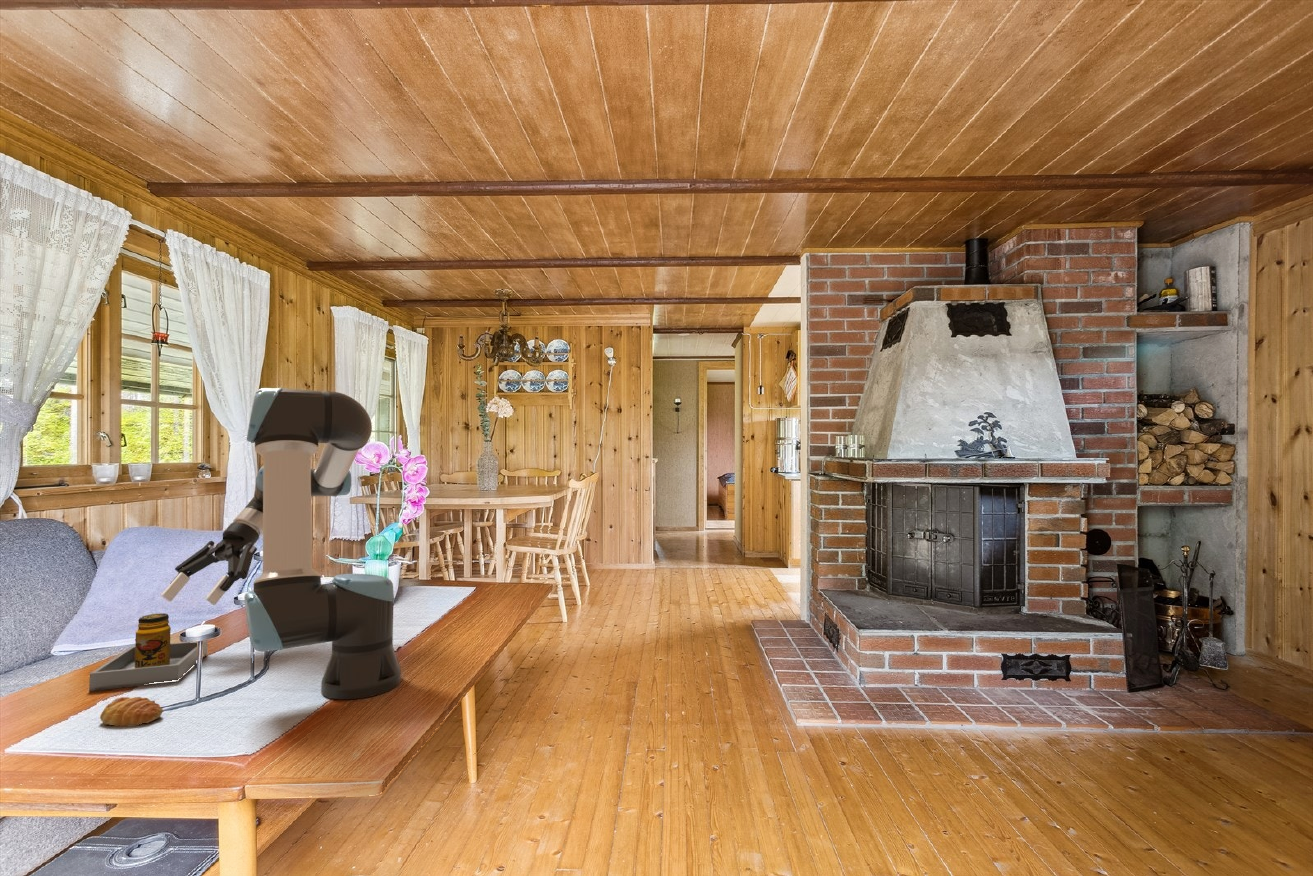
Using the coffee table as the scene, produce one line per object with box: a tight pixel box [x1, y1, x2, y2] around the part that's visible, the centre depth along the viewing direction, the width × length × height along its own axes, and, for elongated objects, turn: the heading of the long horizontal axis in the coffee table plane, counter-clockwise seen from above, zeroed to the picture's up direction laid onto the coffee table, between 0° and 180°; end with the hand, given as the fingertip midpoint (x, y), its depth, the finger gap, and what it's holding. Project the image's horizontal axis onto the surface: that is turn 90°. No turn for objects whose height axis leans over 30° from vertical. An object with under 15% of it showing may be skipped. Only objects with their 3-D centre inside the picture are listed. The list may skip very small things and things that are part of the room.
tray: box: [88, 640, 208, 692], centre depth 136 cm, size 19×15×4 cm
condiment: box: [128, 612, 173, 669], centre depth 136 cm, size 7×8×12 cm
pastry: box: [99, 696, 164, 727], centre depth 111 cm, size 9×7×4 cm
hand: (187, 600), depth 144 cm, fingers open, 13 cm apart
